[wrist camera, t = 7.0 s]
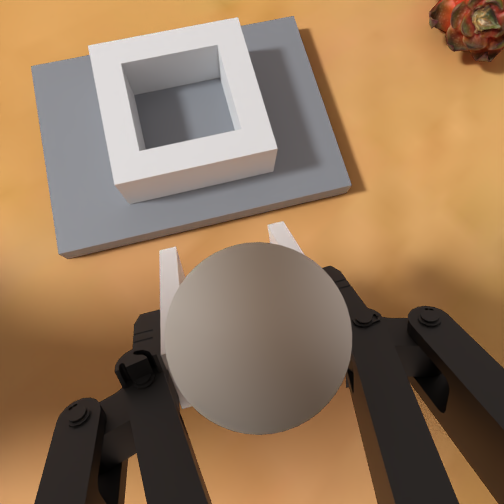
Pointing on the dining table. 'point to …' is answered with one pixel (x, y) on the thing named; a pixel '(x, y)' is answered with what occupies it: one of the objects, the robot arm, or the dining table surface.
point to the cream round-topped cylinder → (258, 338)
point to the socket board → (182, 133)
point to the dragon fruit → (471, 26)
